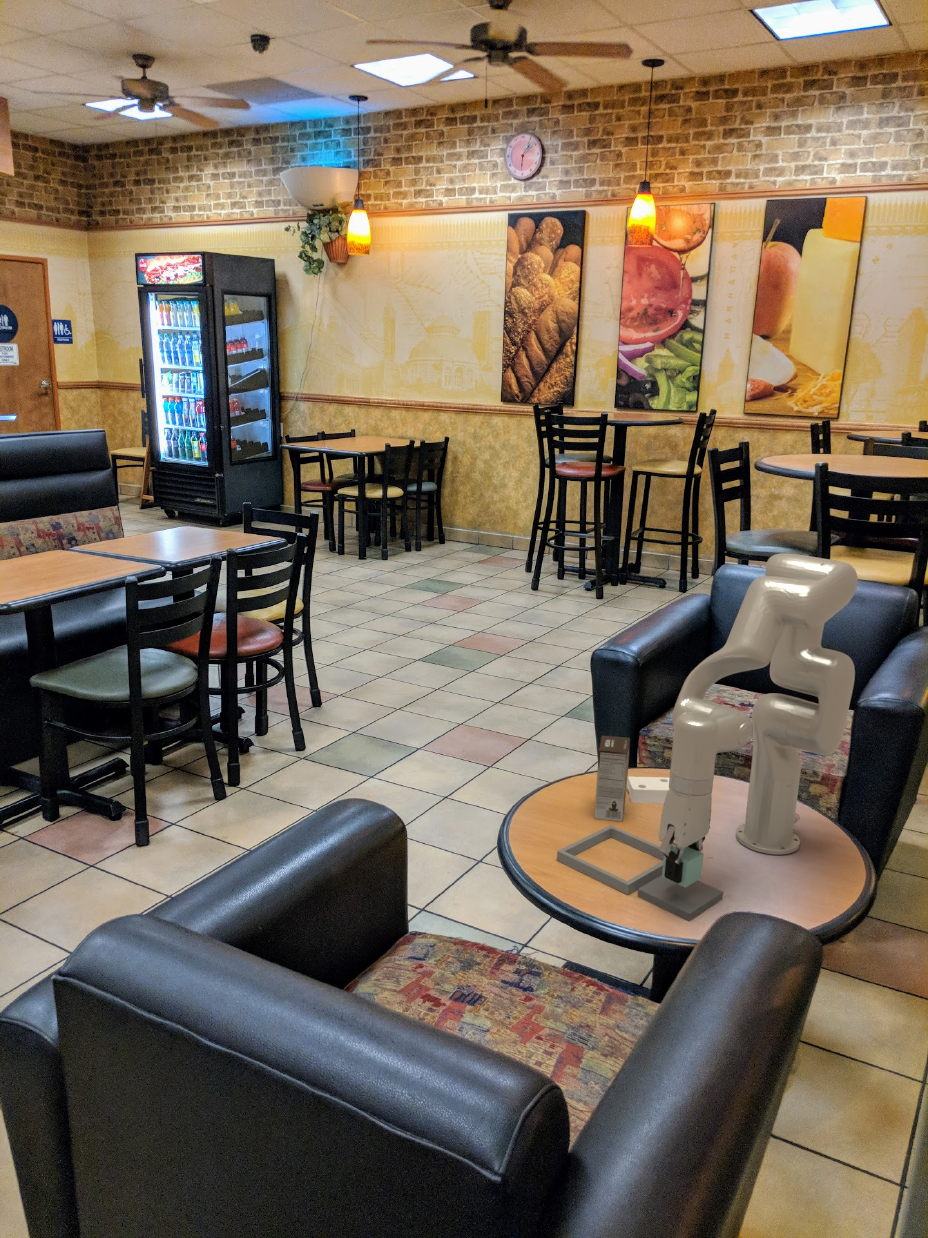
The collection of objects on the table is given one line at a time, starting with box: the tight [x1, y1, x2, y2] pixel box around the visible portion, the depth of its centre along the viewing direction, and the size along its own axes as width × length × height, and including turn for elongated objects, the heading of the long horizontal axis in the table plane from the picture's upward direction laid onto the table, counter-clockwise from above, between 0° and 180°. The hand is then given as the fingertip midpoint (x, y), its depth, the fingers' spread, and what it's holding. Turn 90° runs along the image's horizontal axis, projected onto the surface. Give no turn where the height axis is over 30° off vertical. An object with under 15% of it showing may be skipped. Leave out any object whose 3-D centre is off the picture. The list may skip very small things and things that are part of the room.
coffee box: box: [594, 735, 631, 823], centre depth 205 cm, size 9×6×16 cm
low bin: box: [556, 824, 664, 895], centre depth 185 cm, size 17×17×2 cm
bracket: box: [626, 776, 670, 805], centre depth 214 cm, size 13×7×8 cm, turn 90°
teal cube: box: [662, 847, 704, 888], centre depth 171 cm, size 5×5×5 cm
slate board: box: [636, 875, 724, 922], centre depth 173 cm, size 11×11×2 cm
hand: (681, 874), depth 172 cm, fingers closed on teal cube, 5 cm apart
